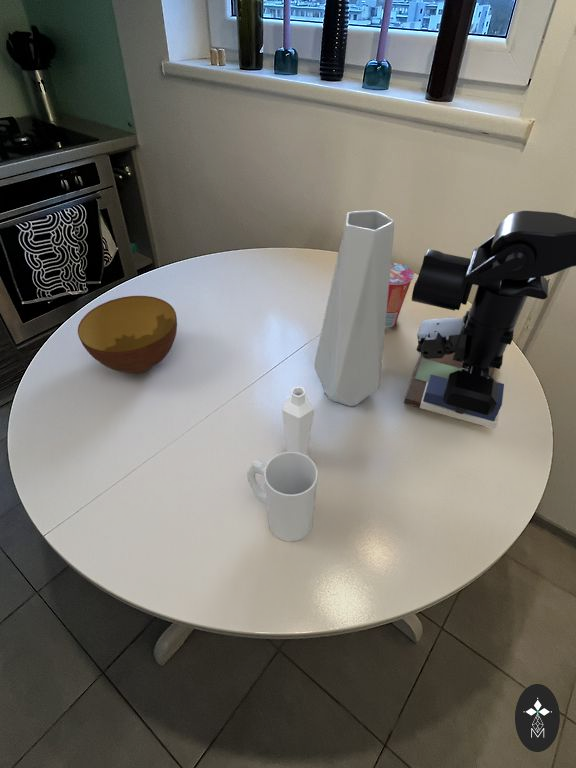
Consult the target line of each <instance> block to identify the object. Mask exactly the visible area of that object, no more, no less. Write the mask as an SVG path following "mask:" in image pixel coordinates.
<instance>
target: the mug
mask: <svg viewBox="0 0 576 768" xmlns="http://www.w3.org/2000/svg"><path fill="white" fill-rule="evenodd" d="M256 474H259V475H261V476H262V477H263V478H264V489H263V487H262V486H260V484H259V483H258V481H257V478H256ZM246 477H247V482H248V484H249V486H250V489H251V490H252V493H253V494H254V497H255V498H256V499H257V500H258V501H260V502H262V503H264V504H265V505H266V508H267V509H266V510H267V518H268V525H269V528H270V531H271V533H272V534H273V535H274V536H275V537H276V538H278V539H279V540H281V541H284V542H288V543H294V542H298V541H302V540H303V539H305V537H307V536H308V535H309V534H310V532H311V530H312V527H313V524H314V515H315V508H316V507H315V506H316V497H317V487H318V477H319V470H318V467H317V465H316V463H315V462H314V461H313V459H312V458H310V457H309V455H308V456H306V455H304V454H302V453H298V452H287V451H284V452H280V453H277V454H276V455H274V456H272V457H271V458H270V459H269V460H268V461H267V462H266V464H264V463H263V462H262V461H259V460H257V459H254V460H253V462H252V463H251V466H250V467H249V468H248V470H247V476H246Z"/></svg>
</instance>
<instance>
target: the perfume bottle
mask: <svg viewBox="0 0 576 768" xmlns="http://www.w3.org/2000/svg"><path fill="white" fill-rule="evenodd" d="M281 411H282V419H283V427H284V437H285V445H286V446H285V447H286V452H298V453H302V454H304V455H306V456H308V457H309V454H308V451H309V444H310V438H311V432H312V425H313V420H314V419H313V418H314V414H315V407H314V405H313V403H312V401H311V400H310V397H309V396H308V395H307V392H306V390H305V388H304V386H293V387H292V388H291V391H290V395H286V397H285V400H284V404H283V406H282V409H281Z"/></svg>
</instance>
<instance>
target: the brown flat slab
mask: <svg viewBox="0 0 576 768" xmlns="http://www.w3.org/2000/svg"><path fill="white" fill-rule="evenodd" d="M454 353H455V352H454ZM454 353H452V354H449V355H444V357H443V358H435V359H426V358H424V357H423V356H422V355H421V353H420V354H419V357H418V361H417V362H416V366H415V369H414V372H413V374H412V377H411V380H410V383H409V386H408V389H407V392H406V394H405V397H404V401H403V403H404V404H407V405H411V406H414V407H417V408H420V404H421V401H422V398H423V394H424V391H425V387H426V384H427V382H429V378H430V375H431V374H432V375H436V376H440V377H444V378H448V377H449V374H450V373H453V372H455V371H458V370H459V371H462V369H461V367H462V362H459V361H455V360H453V356H454ZM495 369H496V368H493V367H491V368H490V370H489V375H490V376H492V377H493V378H494V375H495Z"/></svg>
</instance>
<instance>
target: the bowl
mask: <svg viewBox="0 0 576 768" xmlns="http://www.w3.org/2000/svg"><path fill="white" fill-rule="evenodd" d="M177 331H178V318H177V313H176V309H175V308H174V307H173V306H172V305H171V304H170V303H169V302H167V301H166V300H164V299H162V298H158V297H155V296H149V295H128V296H122V297H117V298H114V299H111V300H108V301H105V302H103V303H101V304H99V305H97V306H96V307H94V308H93V309H90V311H88V312H87V313H86V314H85V315H84V316H83V317H82V318H81V320H80V322H79V324H78V327H77V335H78V338H79V340H80V342H81V345H82V346H83V347H84V349H85V350H86V351H87V353H88V354H89V355H90V356H91V357H92V358H93V359H95V360H96V361H97V362H99V364H101V365H103V366H105V367H107V368H108V369H111V370H114V371H117V372H123V373H134V374H139V373H144V372H146V371H148V370H150V369H152V368H153V367H155V366H157V365H158V364H159V363H160V362H162V361H163V360H164V359H165V358H166V357H167V356H168V354H169V352H170V351H171V349H172V347H173V345H174V342H175V340H176V337H177Z"/></svg>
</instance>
